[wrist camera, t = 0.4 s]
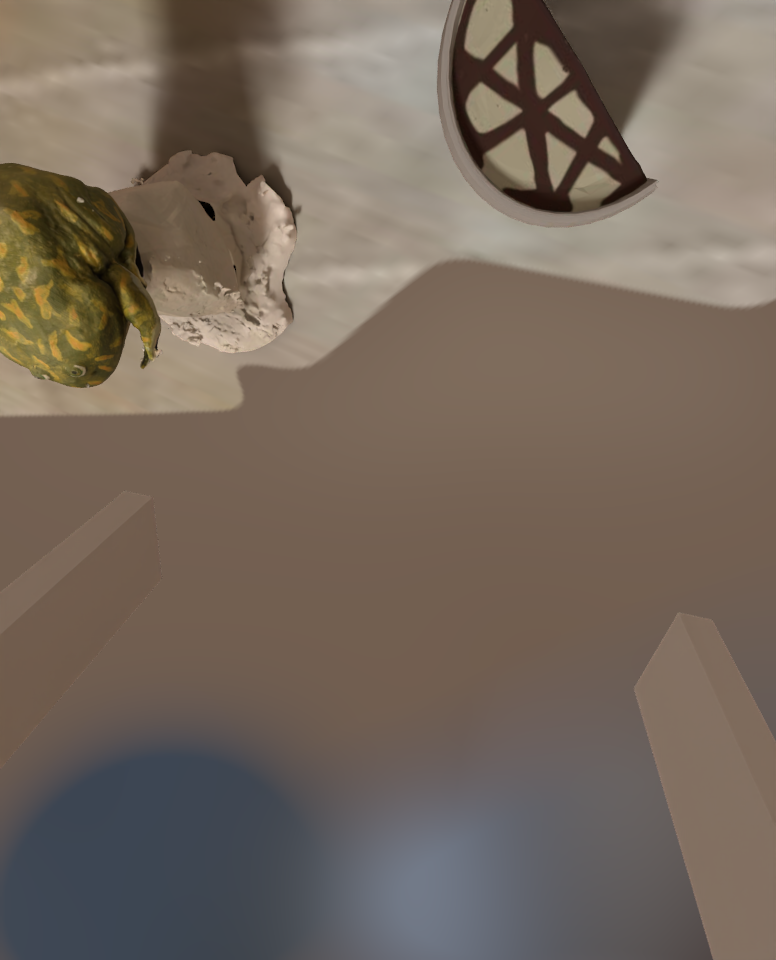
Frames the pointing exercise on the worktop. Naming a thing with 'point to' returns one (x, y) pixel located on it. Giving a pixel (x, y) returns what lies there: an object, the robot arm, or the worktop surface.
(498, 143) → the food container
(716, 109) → the worktop surface
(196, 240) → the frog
